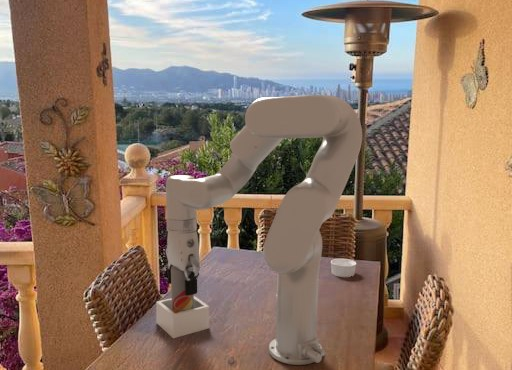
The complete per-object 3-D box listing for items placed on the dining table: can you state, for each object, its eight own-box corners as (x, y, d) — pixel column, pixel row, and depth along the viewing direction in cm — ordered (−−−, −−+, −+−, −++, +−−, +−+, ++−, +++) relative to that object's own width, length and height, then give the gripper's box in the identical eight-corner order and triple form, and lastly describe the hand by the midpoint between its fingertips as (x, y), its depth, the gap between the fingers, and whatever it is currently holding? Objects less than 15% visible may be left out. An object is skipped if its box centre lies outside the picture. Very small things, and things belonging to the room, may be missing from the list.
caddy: (209, 328, 124) (209, 306, 123) (173, 338, 119) (173, 315, 118) (191, 314, 133) (190, 293, 132) (156, 323, 127) (156, 301, 126)
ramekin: (330, 268, 173) (331, 257, 172) (356, 270, 171) (356, 259, 170) (329, 277, 164) (329, 265, 163) (355, 279, 162) (356, 267, 162)
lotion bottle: (189, 328, 122) (187, 252, 119) (168, 325, 123) (166, 250, 120) (197, 318, 127) (196, 246, 124) (177, 316, 129) (175, 244, 126)
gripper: (211, 229, 116) (211, 296, 119) (179, 215, 130) (180, 275, 133) (183, 233, 112) (184, 302, 115) (154, 219, 126) (155, 281, 129)
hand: (182, 288), depth 124 cm, fingers open, 9 cm apart
